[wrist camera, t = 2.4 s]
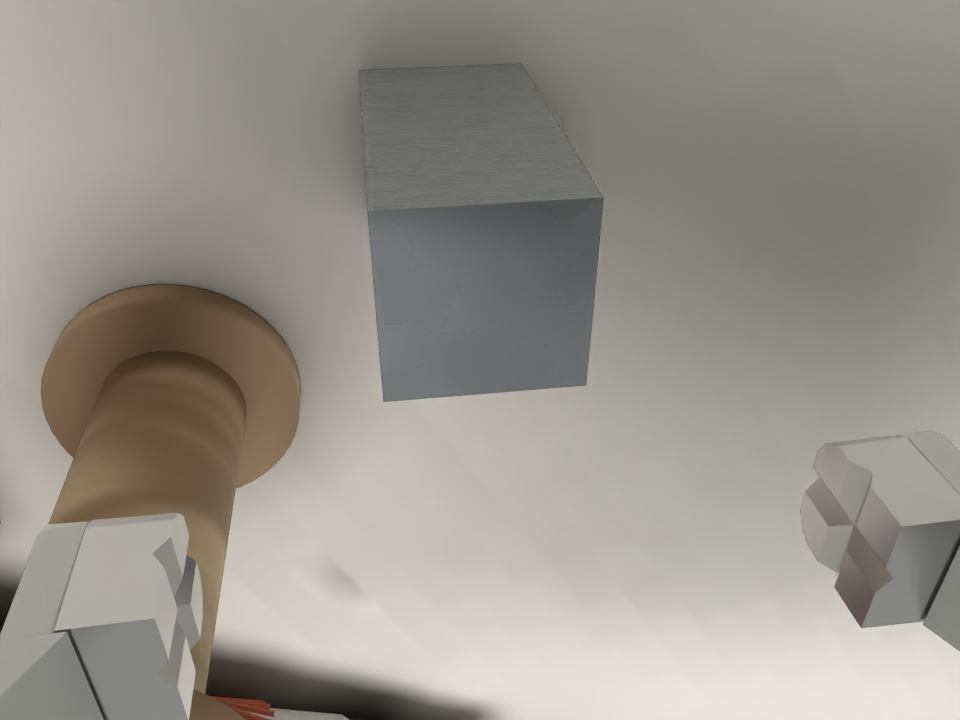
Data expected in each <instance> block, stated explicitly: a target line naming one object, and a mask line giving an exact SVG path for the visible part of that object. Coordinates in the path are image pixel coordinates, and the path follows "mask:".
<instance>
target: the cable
mask: <svg viewBox="0 0 960 720" xmlns="http://www.w3.org/2000/svg"><path fill="white" fill-rule="evenodd" d="M1 631H2V630H0V634H1ZM210 697H212V696H210ZM212 698H214V699H216V700H218V701H219V702H221V703H223V704H224V705H226V706H228V707H230V708H231V709H233V710H234V711H235V712H237V713H238V714H239V715H240V716H242V717H243V718H244V719H246V720H371V719H358V718H346V717H345V716H344V715H342V714H331V713H320V712H308V711H297V710H286V709H275V708H270V704H268V703H265V700H253V699H239V698H228V697H212Z"/></svg>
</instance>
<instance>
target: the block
mask: <svg viewBox="0 0 960 720" xmlns="http://www.w3.org/2000/svg"><path fill="white" fill-rule="evenodd" d="M359 80H360V96H361V112H362V129H363V145H364V161H365V178H366V194H367V210H368V222H369V234H370V247H371V259H372V271H373V283H374V295H375V307H376V319H377V331H378V343H379V355H380V367H381V379H382V391H383V402H389V401H401V400H413V399H425V398H437V397H450V396H462V395H474V394H486V393H498V392H511V391H523V390H535V389H547V388H559V387H571V386H584V385H586V382H587V372H588V361H589V350H590V339H591V328H592V317H593V306H594V296H595V285H596V274H597V263H598V252H599V241H600V230H601V219H602V209H603V198H604V197H603V196H602V194H601V193H600V191H599V189H598V188H597V186H596V184H595V183H594V181H593V180H592V178H591V176H590V175H589V173H588V171H587V170H586V168H585V166H584V165H583V163H582V162H581V160H580V158H579V157H578V155H577V153H576V152H575V150H574V149H573V147H572V145H571V144H570V142H569V140H568V139H567V137H566V136H565V134H564V132H563V131H562V129H561V127H560V126H559V124H558V122H557V121H556V119H555V118H554V116H553V114H552V113H551V111H550V109H549V108H548V106H547V105H546V103H545V101H544V100H543V98H542V96H541V95H540V93H539V91H538V90H537V88H536V87H535V85H534V83H533V82H532V80H531V78H530V77H529V75H528V74H527V72H526V70H525V69H524V67H523V65H522V64H504V65H478V66H452V67H426V68H400V69H374V70H359Z"/></svg>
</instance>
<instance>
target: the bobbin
mask: <svg viewBox="0 0 960 720" xmlns="http://www.w3.org/2000/svg"><path fill="white" fill-rule="evenodd" d="M300 392H301V389H300V377H299V373H298V369H297V365H296V363H295V360H294V358H293V355H292V353H291V352H290V350H289V348H288V346H287V345H286V343H285V342H284V340H283V339H282V338H281V337H280V335H279V334H278V333H277V332H276V330H275V329H274V328H273V327H271V326H270V325H269V324H268V323H267V322H266V321H265V320H264V319H263V318H261V317H260V316H259V315H257V314H256V313H255V312H253V311H252V310H250V309H249V308H247V307H245V306H244V305H242V304H240V303H238V302H236V301H234V300H232V299H230V298H227V297H225V296H223V295H220V294H217V293H214V292H211V291H208V290H204V289H199V288H194V287H189V286H180V285H147V286H139V287H133V288H129V289H125V290H121V291H118V292H115V293H113V294H110V295H107V296H105V297H103V298H101V299H99V300H97V301H95V302H93V303H92V304H90V305H89V306H87V307H86V308H85V309H83V310H82V311H81V312H79V313H78V314H77V315H76V316H75V317H74V318H73V319H72V320H71V321H70V322H69V323H68V325H67V326H66V328H65V329H64V331H63V332H62V333H61V335H60V337H59V339H58V341H57V343H56V345H55V347H54V349H53V351H52V353H51V355H50V357H49V359H48V362H47V364H46V366H45V369H44V373H43V377H42V383H41V399H42V407H43V410H44V413H45V417H46V420H47V422H48V424H49V426H50V428H51V430H52V432H53V434H54V435H55V437H56V438H57V440H58V441H59V443H60V444H61V445H62V446H63V447H64V448H65V450H66V451H67V452H68V453H69V454H70V455H71V456H72V457H73V458H74V459H73V462H72V464H71V467H70V469H69V472H68V475H67V477H66V480H65V482H64V485H63V487H62V490H61V493H60V495H59V498H58V500H57V503H56V505H55V508H54V511H53V513H52V516H51V518H50V521H49V523H48V524H61V523H74V522H87V521H92V520H98V519H110V518H122V517H134V516H146V515H157V514H169V513H180V514H181V515H183V516H184V520H185V523H186V526H187V529H188V532H189V541H188V548H187V554H186V555H188V556H189V557H191V558H192V559H193V560H195V561H196V562H197V566H198V570H199V574H200V579H201V586H202V594H203V619H202V628H201V636H200V640H199V641H198V642H197V643H196V644H195V645H194V647H193V648H192V649H191V650H190V653H191V656H192V660H193V663H194V667H195V670H196V674H195V681H194V688H193V695H192V702H191V709H190V716H189V720H246V719H244V718H243V717H242V716H240V715H239V714H238V713H237V712H235V711H234V710H233V709H231V708H230V707H228V706H226V705H224V704H223V703H221V702H219V701H218V700H216V699H214V698H212V697H210V696H208V695H206V694H205V692H206V685H207V679H208V672H209V665H210V658H211V652H212V645H213V638H214V631H215V624H216V618H217V611H218V604H219V597H220V591H221V584H222V577H223V570H224V563H225V557H226V550H227V543H228V536H229V529H230V523H231V516H232V509H233V502H234V496H235V489H236V488H239V487H241V486H243V485H245V484H247V483H250V482H252V481H254V480H255V479H257V478H258V477H260V476H261V475H263V474H265V473H266V472H267V471H268V470H269V469H271V468H272V467H273V466H274V465H275V464H276V463H277V462H278V461H279V460H280V459H281V457H282V456H283V455H284V454H285V452H286V451H287V449H288V448H289V446H290V444H291V442H292V440H293V438H294V435H295V432H296V429H297V425H298V419H299V407H300Z"/></svg>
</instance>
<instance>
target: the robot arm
mask: <svg viewBox="0 0 960 720" xmlns="http://www.w3.org/2000/svg"><path fill="white" fill-rule="evenodd" d="M813 468H814V469H815V471H816V472H817V474H818V476H819V477H820V478H819V479H818V480H817V481H816V482H815V483H814V484H813V485H812V486H811V487H810V488H809V489H808V490H806V491H805V494H804V498H803V502H802V506H801V510H800V512H801V522H802V531H803V534H804V536H805V539H806V542H807V544H808V547H809V548H810V550H811V551H812V553H813V555H814V556H815V558H816V559H817V561H819V562H820V563H822V564H823V565H825V566H827V567H828V568H830V569H832V570H833V571H835V572H837V575H836V581H835V589H836V590H837V592H838V593H839V595H840V597H841V598H842V600H843V601H844V603H845V604H846V606H847V607H848V609H849V610H850V612H851V613H852V615H853V616H854V618H855V619H856V621H857V622H858V624H859V625H860V627H861V628H867V627H876V626H885V625H894V624H904V623H913V622H922V621H924V623H923V625H924V626H926V627H927V628H928V629H930V630H931V631H932V632H934V633H935V634H937V635H938V636H939V637H941V638H942V639H943V640H945V641H946V642H948V643H949V644H950V645H952V646H953V647H954V648H956V649H957V650H959V651H960V451H959V450H958V449H957V448H956V447H955V446H954V445H953V444H952V443H951V442H950V441H949V440H948V439H947V438H946V437H945V436H944V435H942V434H940V433H937V432H935V431H933V430H932V431H924V432H916V433H907V434H899V435H896V436H885V437H876V438H868V439H859V440H850V441H842V442H833V443H825V444H824V445H823V446H822V448H821V449H820V450H819V451H818V452H817V455H816V458H815V461H814V464H813ZM188 541H189V532H188V529H187V526H186V523H185V520H184V516H183V515H181V514H180V513H169V514H157V515H146V516H134V517H122V518H110V519H98V520H92V521H87V522H74V523H61V524H48V525H46V526H45V527H44V528H43V529H42V530H41V531H40V533H39V534H38V535H37V537H36V540H35V543H34V545H33V548H32V551H31V553H30V556H29V559H28V561H27V564H26V567H25V569H24V572H23V575H22V577H21V580H20V583H19V585H18V588H17V591H16V594H15V596H14V599H13V602H12V604H11V607H10V610H9V612H8V615H7V618H6V620H5V623H4V626H3V628H2V631H1V634H0V720H189V716H190V709H191V702H192V695H193V688H194V681H195V674H196V670H195V667H194V663H193V660H192V656H191V653H190V650H191V649H192V648H193V647H194V645H195V644H196V643H197V642H198V641H199V640H200V636H201V628H202V619H203V594H202V586H201V579H200V574H199V570H198V566H197V562H196V561H195V560H193V559H192V558H191V557H189V556H188V555H186V554H187V548H188Z"/></svg>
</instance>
